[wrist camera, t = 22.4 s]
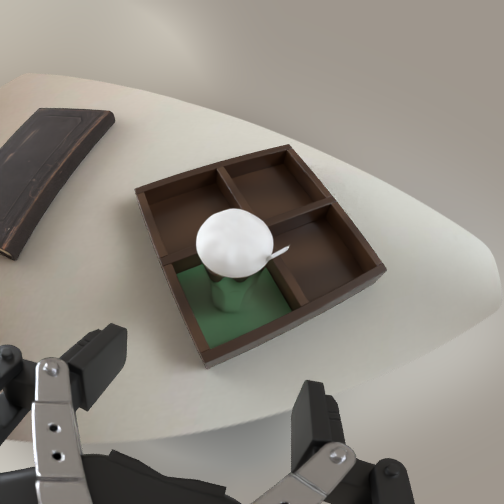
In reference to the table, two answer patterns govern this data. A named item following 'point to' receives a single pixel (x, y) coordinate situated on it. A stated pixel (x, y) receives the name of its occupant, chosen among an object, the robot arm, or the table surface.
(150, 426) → the table surface
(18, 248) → the hardcover book
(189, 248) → the grid
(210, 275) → the milkshake
